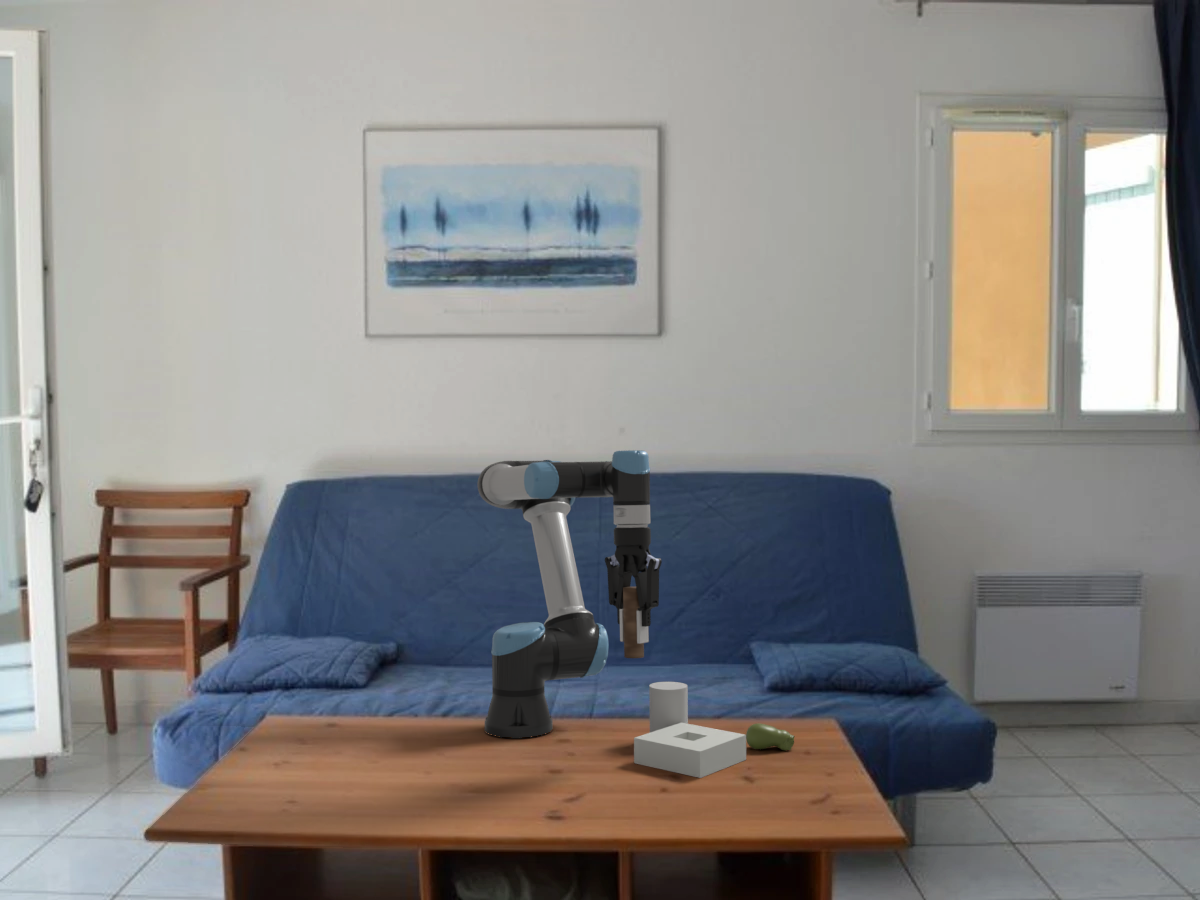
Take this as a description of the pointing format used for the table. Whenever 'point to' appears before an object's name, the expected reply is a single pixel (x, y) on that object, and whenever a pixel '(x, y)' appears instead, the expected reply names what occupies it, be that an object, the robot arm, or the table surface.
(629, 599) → the walnut dowel
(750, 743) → the pear
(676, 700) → the grey cylinder peg
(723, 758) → the socket block
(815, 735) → the table surface
